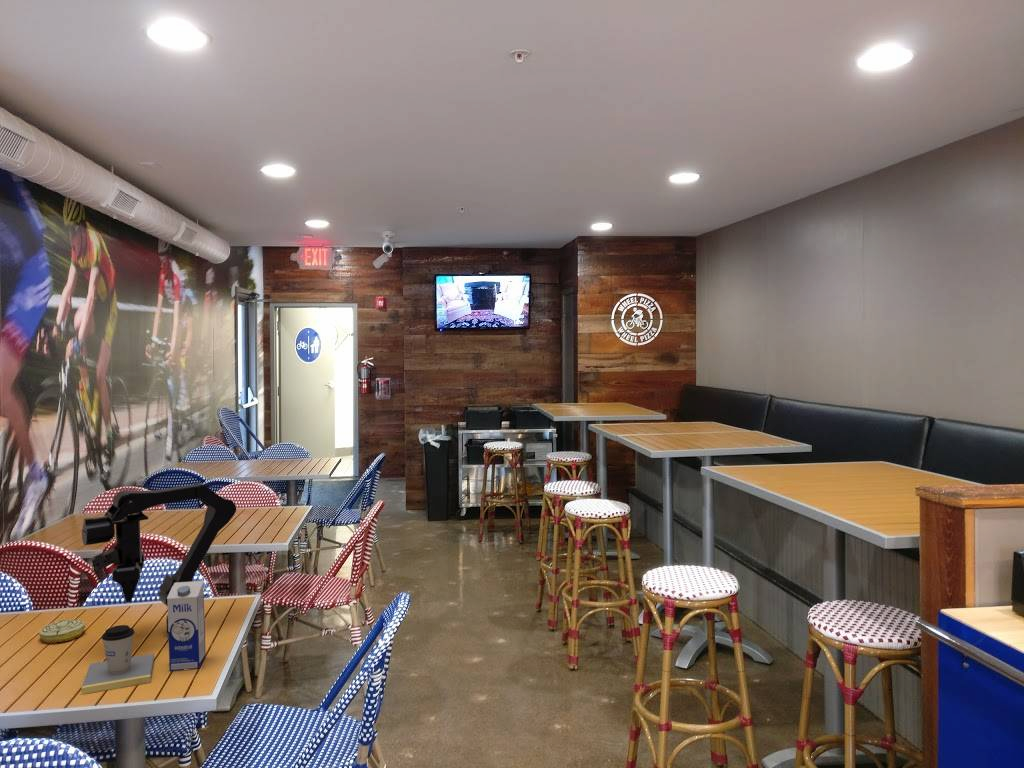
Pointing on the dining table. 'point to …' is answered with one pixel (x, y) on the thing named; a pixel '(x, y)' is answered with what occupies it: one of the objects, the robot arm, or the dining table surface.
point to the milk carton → (186, 625)
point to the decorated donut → (62, 631)
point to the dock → (118, 675)
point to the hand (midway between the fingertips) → (130, 596)
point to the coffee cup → (118, 648)
